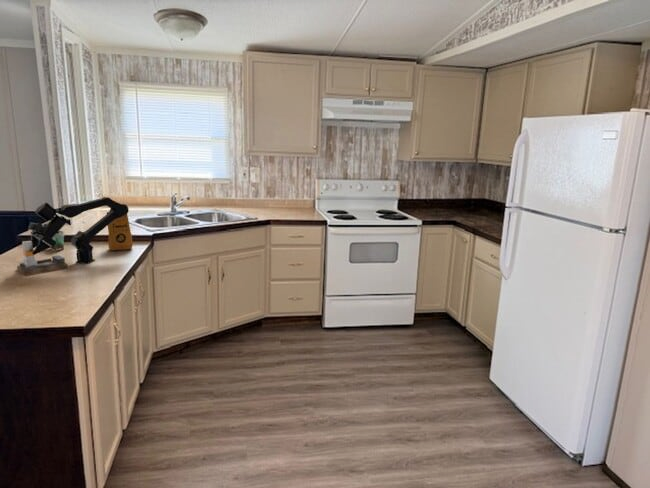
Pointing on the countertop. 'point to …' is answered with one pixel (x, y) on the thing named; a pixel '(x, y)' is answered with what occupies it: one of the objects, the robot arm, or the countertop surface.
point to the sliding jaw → (28, 254)
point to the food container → (59, 241)
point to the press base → (44, 266)
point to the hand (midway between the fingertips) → (30, 252)
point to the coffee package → (120, 234)
